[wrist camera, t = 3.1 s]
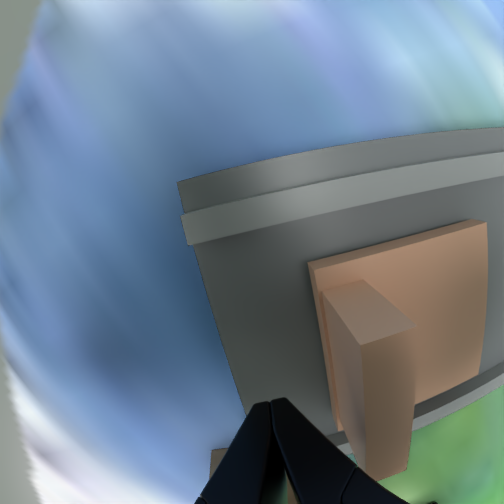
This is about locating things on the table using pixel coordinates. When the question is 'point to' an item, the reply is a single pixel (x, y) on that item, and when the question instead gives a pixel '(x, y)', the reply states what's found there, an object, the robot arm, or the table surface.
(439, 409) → the socket block
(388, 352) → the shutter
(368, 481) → the robot arm
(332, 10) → the table surface
